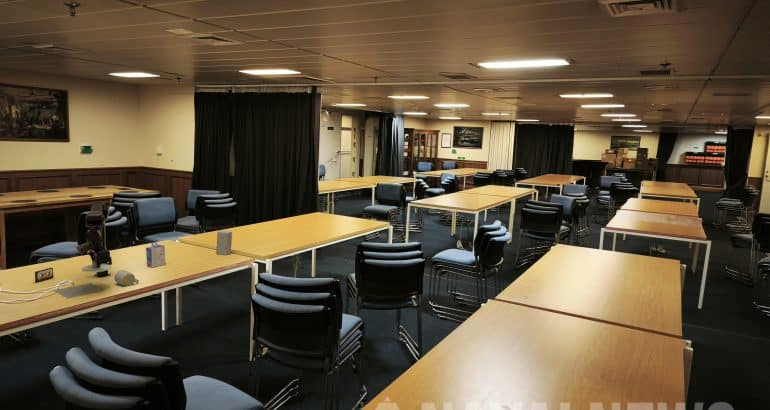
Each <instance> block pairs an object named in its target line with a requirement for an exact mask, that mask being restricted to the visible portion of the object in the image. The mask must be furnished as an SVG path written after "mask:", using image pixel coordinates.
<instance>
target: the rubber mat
mask: <svg viewBox="0 0 770 410" xmlns="http://www.w3.org/2000/svg"><path fill="white" fill-rule="evenodd" d="M105 291H106V289H104V288H101V287H100V286H98V285H96V284H93V283H91V282H90V283H84V284H79V285H74V286H70V287H65V288H59V289H55V290H54V292H56V293H57V294H59V295H60V296H62V297H64V298H66V299H72V298H76V297H81V296H86V295H90V294H96V293H100V292H105Z"/></svg>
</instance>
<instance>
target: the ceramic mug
mask: <svg viewBox="0 0 770 410" xmlns="http://www.w3.org/2000/svg"><path fill="white" fill-rule="evenodd" d="M114 282H115V283H116V284H118V285H121V286H123V287H128V286H132V285H134V284H135V283H136V284H137V283H139V279H137V278H136V277H135V275H134V273H132V272H130V271H128V270H126V269H119V270H118V271H116V272H115V275H114Z"/></svg>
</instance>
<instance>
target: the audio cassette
mask: <svg viewBox="0 0 770 410" xmlns="http://www.w3.org/2000/svg"><path fill="white" fill-rule="evenodd" d="M54 275H55V274H54V267H48V268H43V269H40V270H37V271H34V283H42V282H46V281H49V280H52V279H54Z"/></svg>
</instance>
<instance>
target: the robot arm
mask: <svg viewBox="0 0 770 410" xmlns="http://www.w3.org/2000/svg"><path fill="white" fill-rule="evenodd" d="M92 203H93V204H92V205H91V206H90V211H88V212H87V214H86V215H85V220H84V221H85V223H84V228H85V229H88V231H87V233H86V234H85V239H86V242H84V243H82V244H80V245H77V246H76V247H75V249H76V251H77V252H78V254H80V255H83V254H87V255H88V256H89V257H90V260H91V262H92V261H94V260H95V261H96V265H97V268H98V267H100V265H101V264H107V265H110V266H112V265H113V260H112V256H111V251H110V250H108V249H107V247H106V221H107V220H108V219H109V215H110V206H109V205H108V204H106V203H105V202H104V201H94V202H92ZM95 273H96V274H93V276H95V277H97V278H104V277H108V276H109V277H111V276H112V275H111V274H110V273H109V270H106V271H102V272H95Z"/></svg>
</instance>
